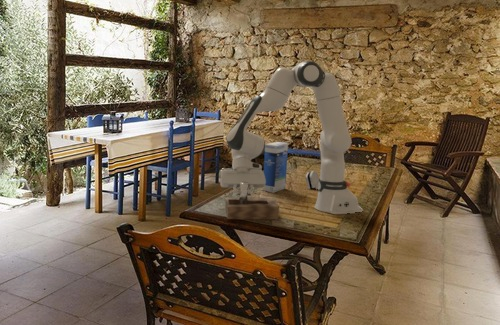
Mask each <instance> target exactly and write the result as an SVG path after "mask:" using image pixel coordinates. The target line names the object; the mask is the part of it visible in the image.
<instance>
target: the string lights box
mask: <svg viewBox="0 0 500 325" xmlns="http://www.w3.org/2000/svg"><path fill="white" fill-rule="evenodd" d="M288 151H289V143H288V142H283V141H282V142H281V141H275V142H269V143H265V150H264V159H263V160H264V161H263V172H264V175H265V180H266V184H265V186H264V187H263V188H262V191H263V192H269V193H273V194H274V193H277V192H280V191H282V190H286V185H287V184H286V183H287V168H288V165H287V164H288V154H289V153H288Z"/></svg>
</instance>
